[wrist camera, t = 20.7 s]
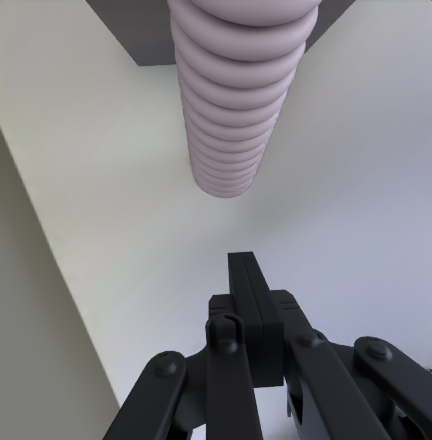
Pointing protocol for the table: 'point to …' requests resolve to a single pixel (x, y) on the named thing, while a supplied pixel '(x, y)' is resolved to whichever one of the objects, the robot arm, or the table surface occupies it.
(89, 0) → the walnut block
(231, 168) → the coil
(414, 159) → the table surface
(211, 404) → the robot arm
